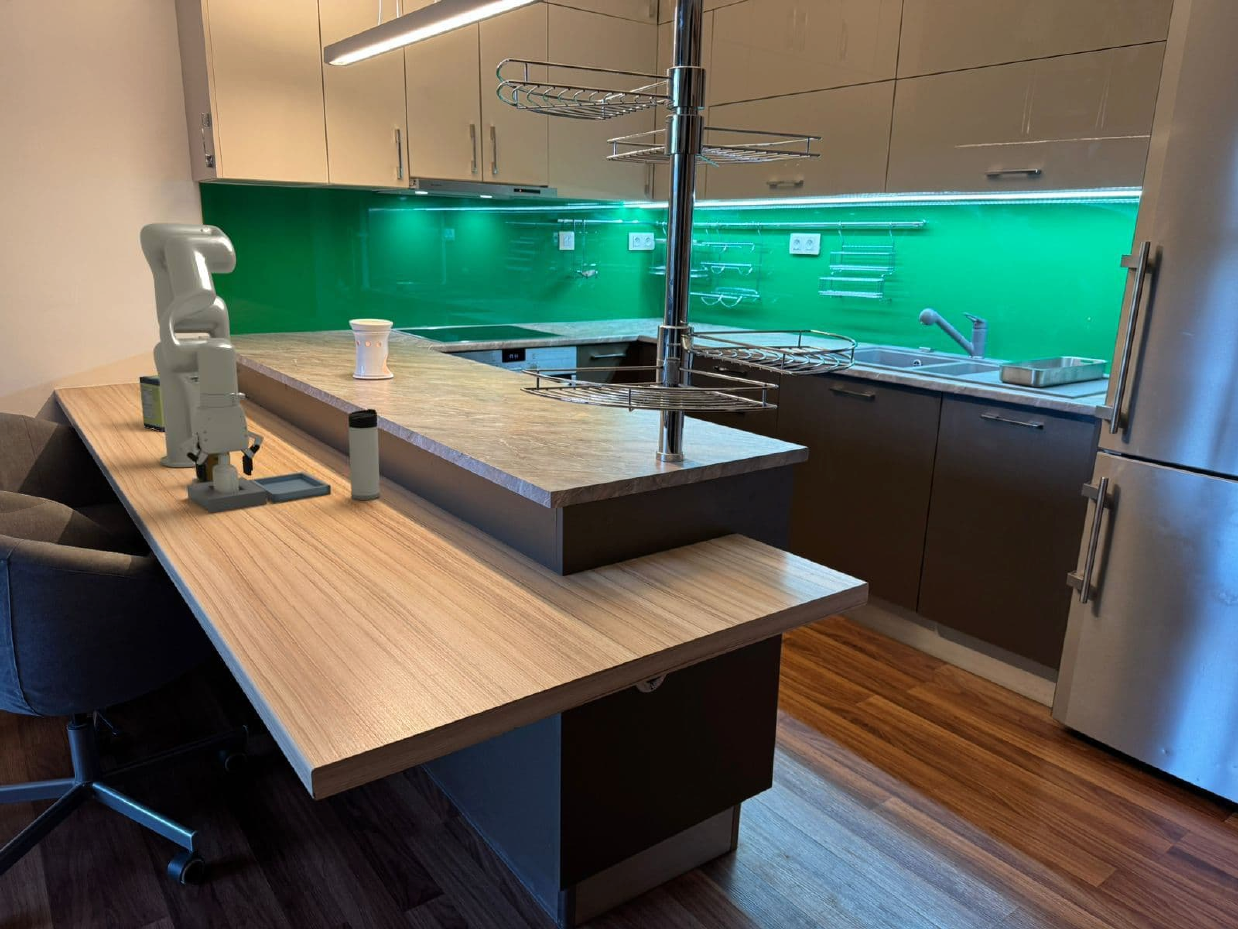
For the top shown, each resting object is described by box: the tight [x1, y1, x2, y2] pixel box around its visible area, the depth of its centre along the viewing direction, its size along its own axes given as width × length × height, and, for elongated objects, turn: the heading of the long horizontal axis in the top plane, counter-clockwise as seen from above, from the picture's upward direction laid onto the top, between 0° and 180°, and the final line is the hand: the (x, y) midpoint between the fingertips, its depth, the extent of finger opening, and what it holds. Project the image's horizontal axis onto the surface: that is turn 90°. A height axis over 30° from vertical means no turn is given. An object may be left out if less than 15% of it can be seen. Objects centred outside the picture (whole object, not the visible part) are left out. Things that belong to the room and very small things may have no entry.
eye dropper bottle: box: [213, 453, 239, 494], centre depth 186 cm, size 4×6×12 cm
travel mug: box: [348, 408, 381, 501], centre depth 192 cm, size 6×7×20 cm
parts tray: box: [248, 471, 332, 504], centre depth 197 cm, size 15×13×2 cm
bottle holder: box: [186, 476, 268, 514], centre depth 187 cm, size 14×12×3 cm
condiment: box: [191, 452, 231, 484], centre depth 201 cm, size 7×8×12 cm
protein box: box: [139, 374, 199, 432], centre depth 257 cm, size 10×16×16 cm
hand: (225, 477), depth 186 cm, fingers open, 9 cm apart
